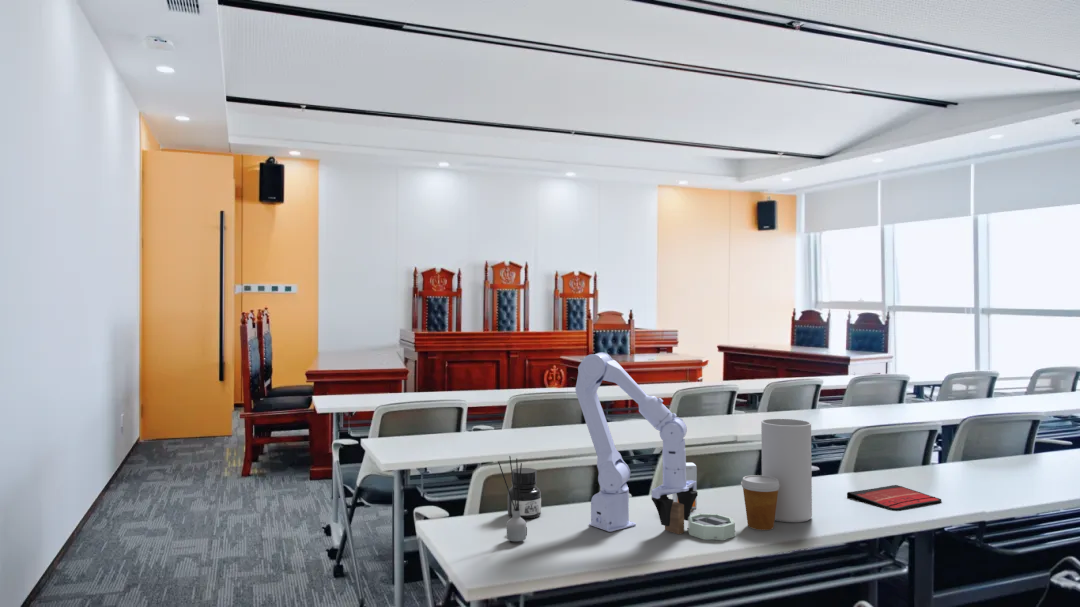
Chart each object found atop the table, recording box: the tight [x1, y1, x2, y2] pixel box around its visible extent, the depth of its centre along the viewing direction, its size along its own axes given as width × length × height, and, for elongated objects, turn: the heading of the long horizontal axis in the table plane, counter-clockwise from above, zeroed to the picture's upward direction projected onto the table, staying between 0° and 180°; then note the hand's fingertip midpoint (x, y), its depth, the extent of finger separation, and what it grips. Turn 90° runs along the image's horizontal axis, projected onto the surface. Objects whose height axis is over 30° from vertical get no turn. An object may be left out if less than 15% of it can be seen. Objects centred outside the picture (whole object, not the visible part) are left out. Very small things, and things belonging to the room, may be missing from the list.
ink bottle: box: [507, 467, 542, 520], centre depth 190 cm, size 10×9×12 cm
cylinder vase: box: [761, 418, 813, 523], centre depth 188 cm, size 12×12×25 cm
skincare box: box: [671, 462, 698, 510], centre depth 197 cm, size 6×4×12 cm
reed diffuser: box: [497, 455, 528, 542], centre depth 168 cm, size 10×7×20 cm
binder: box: [846, 484, 942, 512], centre depth 204 cm, size 16×2×21 cm
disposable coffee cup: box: [740, 474, 780, 531], centre depth 179 cm, size 10×10×12 cm
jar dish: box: [686, 512, 736, 541], centre depth 174 cm, size 11×11×3 cm
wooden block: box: [664, 501, 685, 535], centre depth 175 cm, size 2×4×7 cm, turn 38°
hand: (675, 522), depth 176 cm, fingers open, 7 cm apart
